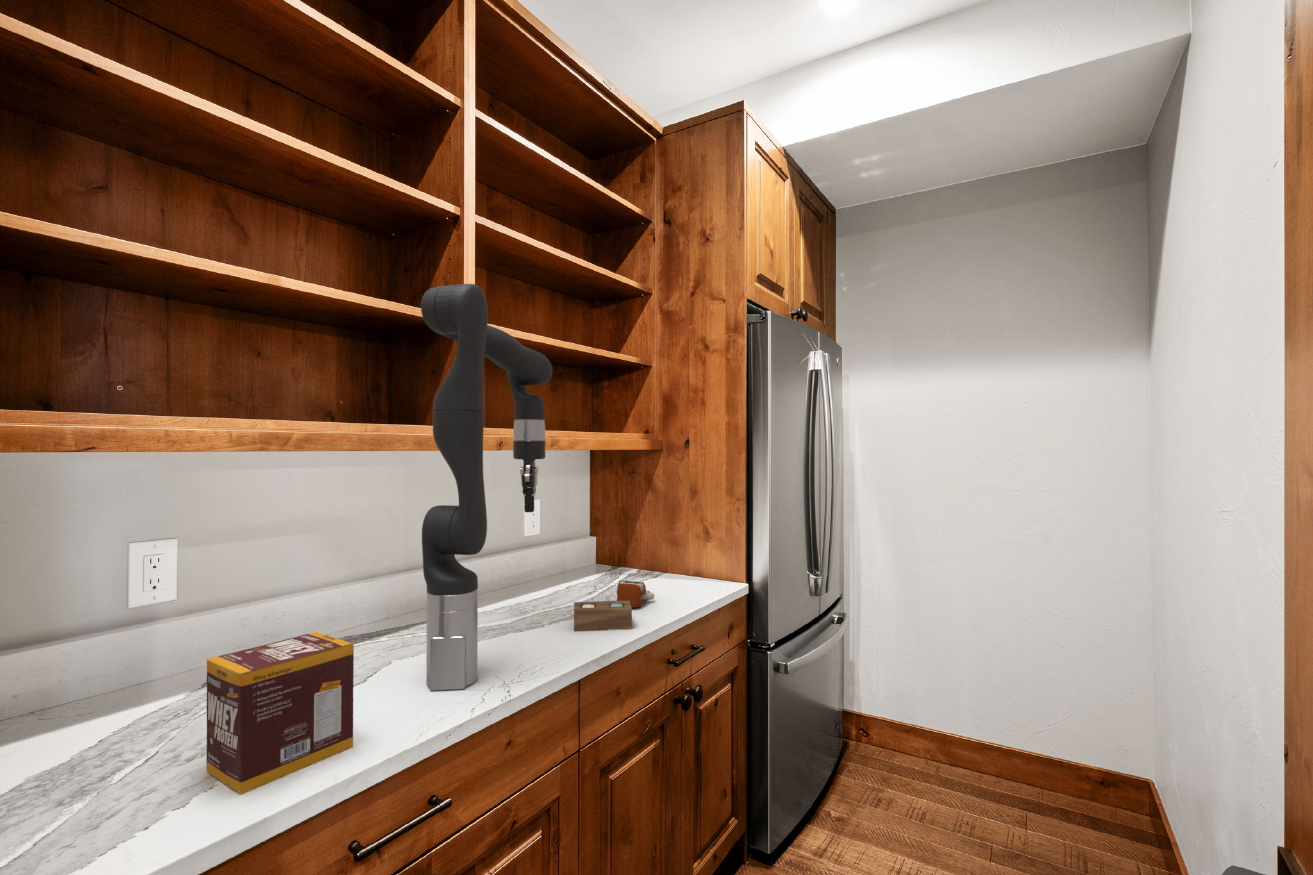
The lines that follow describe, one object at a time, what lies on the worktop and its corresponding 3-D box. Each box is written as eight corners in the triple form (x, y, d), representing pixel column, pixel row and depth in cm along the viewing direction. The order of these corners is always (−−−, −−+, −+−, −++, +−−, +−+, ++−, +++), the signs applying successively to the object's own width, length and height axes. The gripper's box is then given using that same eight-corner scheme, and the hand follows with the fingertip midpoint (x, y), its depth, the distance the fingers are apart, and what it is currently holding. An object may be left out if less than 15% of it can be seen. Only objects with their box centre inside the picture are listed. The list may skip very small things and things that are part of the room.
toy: (660, 581, 181) (643, 583, 167) (659, 604, 180) (641, 608, 166) (631, 579, 184) (611, 580, 170) (629, 602, 183) (610, 606, 169)
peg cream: (594, 627, 151) (594, 607, 151) (582, 628, 151) (582, 607, 151) (594, 624, 154) (594, 604, 154) (582, 624, 154) (582, 604, 154)
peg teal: (623, 626, 152) (622, 606, 152) (610, 626, 152) (610, 606, 152) (622, 623, 155) (622, 603, 155) (610, 623, 155) (610, 603, 155)
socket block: (631, 629, 150) (631, 608, 150) (573, 631, 148) (573, 610, 148) (629, 619, 158) (629, 600, 158) (574, 621, 156) (574, 602, 156)
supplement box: (203, 772, 84) (204, 658, 84) (317, 729, 97) (318, 630, 97) (238, 796, 78) (239, 673, 78) (354, 747, 91) (355, 641, 91)
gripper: (516, 439, 153) (516, 509, 152) (510, 438, 139) (510, 515, 139) (546, 439, 153) (546, 509, 153) (543, 438, 140) (543, 514, 140)
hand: (529, 511), depth 146 cm, fingers closed
